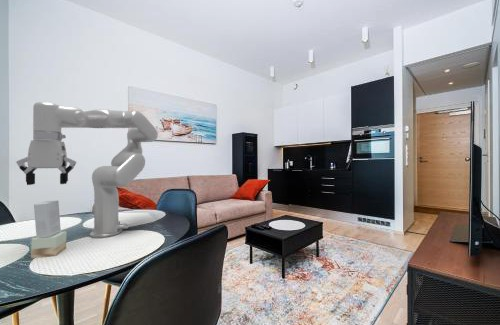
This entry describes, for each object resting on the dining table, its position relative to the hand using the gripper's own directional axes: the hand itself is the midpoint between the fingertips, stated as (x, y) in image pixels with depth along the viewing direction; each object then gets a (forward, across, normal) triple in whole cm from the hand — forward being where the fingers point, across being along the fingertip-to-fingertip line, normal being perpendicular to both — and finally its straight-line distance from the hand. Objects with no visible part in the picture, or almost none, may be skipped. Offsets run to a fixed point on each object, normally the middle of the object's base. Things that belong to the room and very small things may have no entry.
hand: (47, 184), depth 79 cm
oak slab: (+26, -1, 0) cm, 26 cm away
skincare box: (+19, -1, 0) cm, 19 cm away
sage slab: (+22, -1, 0) cm, 22 cm away
